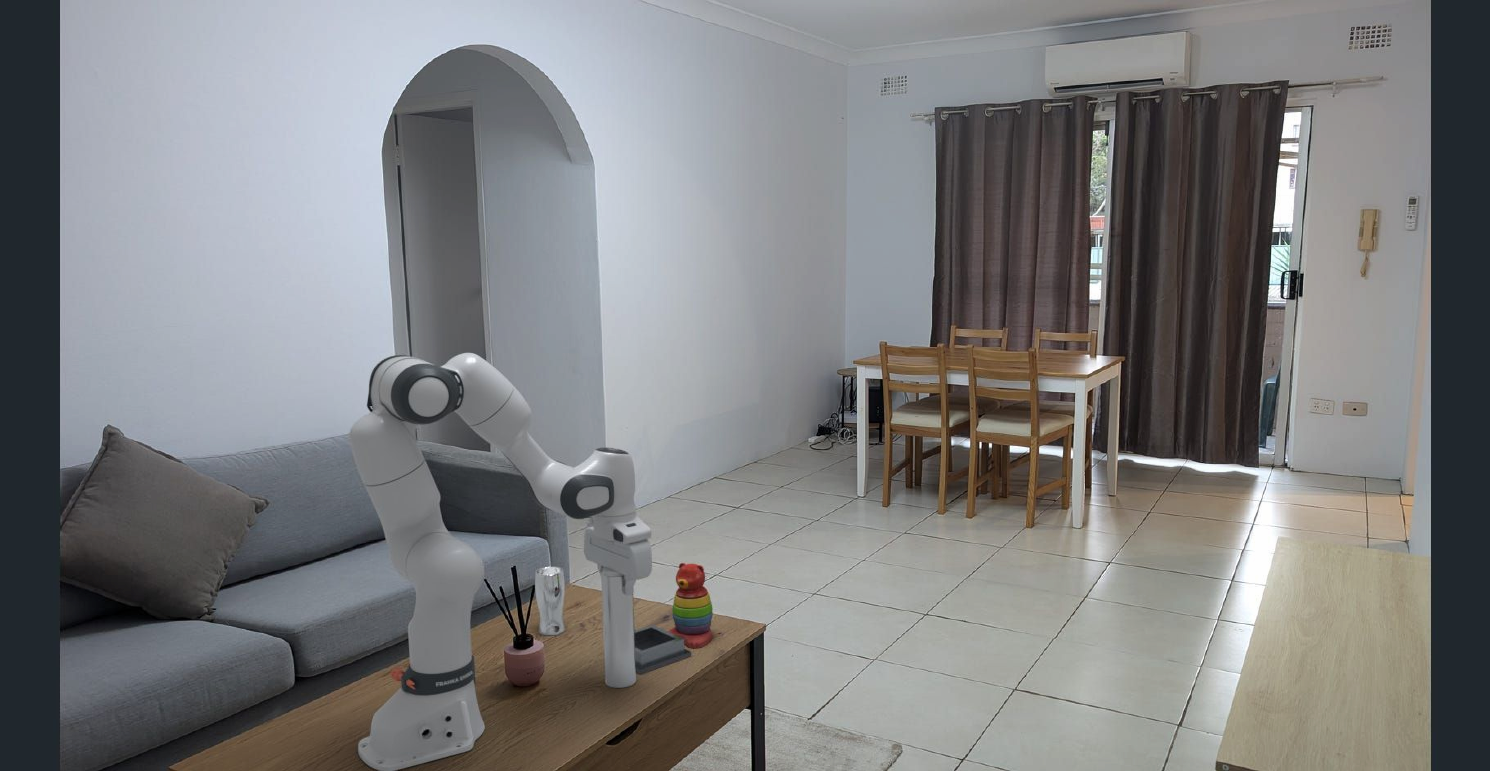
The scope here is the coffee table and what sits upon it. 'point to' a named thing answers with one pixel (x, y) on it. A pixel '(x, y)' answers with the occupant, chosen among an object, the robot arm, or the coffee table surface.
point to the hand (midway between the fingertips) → (617, 589)
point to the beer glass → (550, 599)
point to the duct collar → (657, 648)
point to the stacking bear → (692, 607)
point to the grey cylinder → (618, 631)
